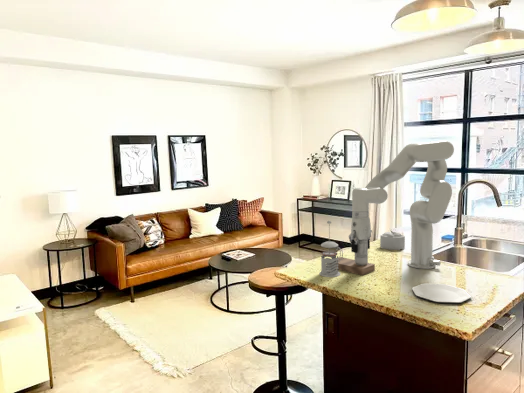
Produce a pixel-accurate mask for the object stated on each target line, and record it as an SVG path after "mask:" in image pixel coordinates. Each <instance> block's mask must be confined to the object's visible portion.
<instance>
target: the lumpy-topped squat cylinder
mask: <svg viewBox="0 0 524 393" xmlns="http://www.w3.org/2000/svg"><path fill="white" fill-rule="evenodd" d="M379 237H380V239H379V241H380V243H379V244H380V246H379V247H381V248H380V249H383V250H392V251H400V249H402V250H405V248H406V246H405V245H406V241H405V240H406V238H405V235H404V234H402V233H400V232H397V231H386V232H384V233H382V234H380V236H379Z"/></svg>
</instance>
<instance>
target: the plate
mask: <svg viewBox="0 0 524 393" xmlns="http://www.w3.org/2000/svg"><path fill="white" fill-rule="evenodd" d="M411 290H412V292H413V294H414V295H415V297H417V298H421V299H423V300H427V301H430V302H433V303H437V304H438V303H442V304H461V303H464V302H465V301H469V300H471V299H472V296H471V295H470V294H469V293H468V292H467V290H466V289H464V288H462V287H458V286H454V285H450V284H446V283H432V282H431V283H427V282H425V283H424V282H423V283H421V284H418V285H415V286H412V288H411Z"/></svg>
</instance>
